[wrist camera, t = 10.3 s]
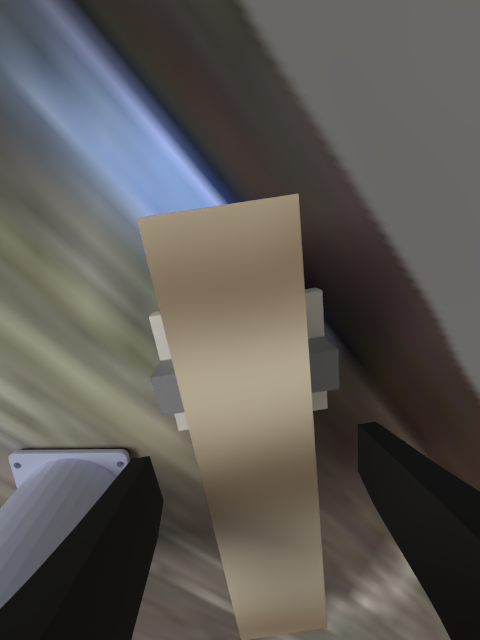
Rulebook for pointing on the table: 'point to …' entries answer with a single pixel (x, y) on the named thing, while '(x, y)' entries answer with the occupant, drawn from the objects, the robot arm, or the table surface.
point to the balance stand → (320, 359)
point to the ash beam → (247, 398)
